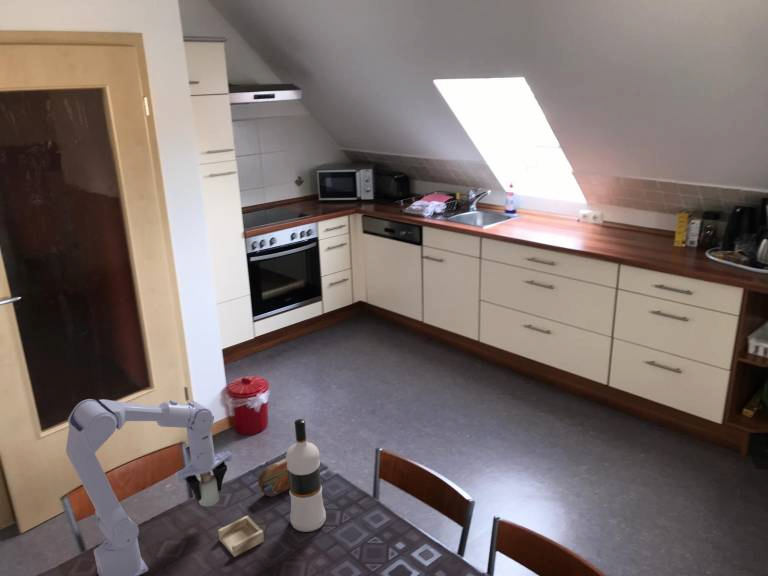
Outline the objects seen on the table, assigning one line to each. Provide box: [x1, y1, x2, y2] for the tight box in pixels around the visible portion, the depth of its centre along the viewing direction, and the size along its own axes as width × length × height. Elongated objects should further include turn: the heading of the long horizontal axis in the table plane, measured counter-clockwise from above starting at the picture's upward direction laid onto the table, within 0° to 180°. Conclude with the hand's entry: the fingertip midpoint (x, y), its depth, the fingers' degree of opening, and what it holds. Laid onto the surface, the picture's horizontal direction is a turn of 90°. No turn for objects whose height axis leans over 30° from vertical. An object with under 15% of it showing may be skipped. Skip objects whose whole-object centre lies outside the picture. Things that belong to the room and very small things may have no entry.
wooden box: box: [217, 515, 265, 558], centre depth 156 cm, size 8×8×3 cm
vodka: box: [285, 418, 327, 533], centre depth 157 cm, size 9×9×30 cm
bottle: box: [197, 471, 220, 507], centre depth 160 cm, size 5×5×8 cm
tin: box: [257, 457, 290, 497], centre depth 175 cm, size 15×3×8 cm, turn 129°
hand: (208, 493), depth 160 cm, fingers closed on bottle, 5 cm apart
